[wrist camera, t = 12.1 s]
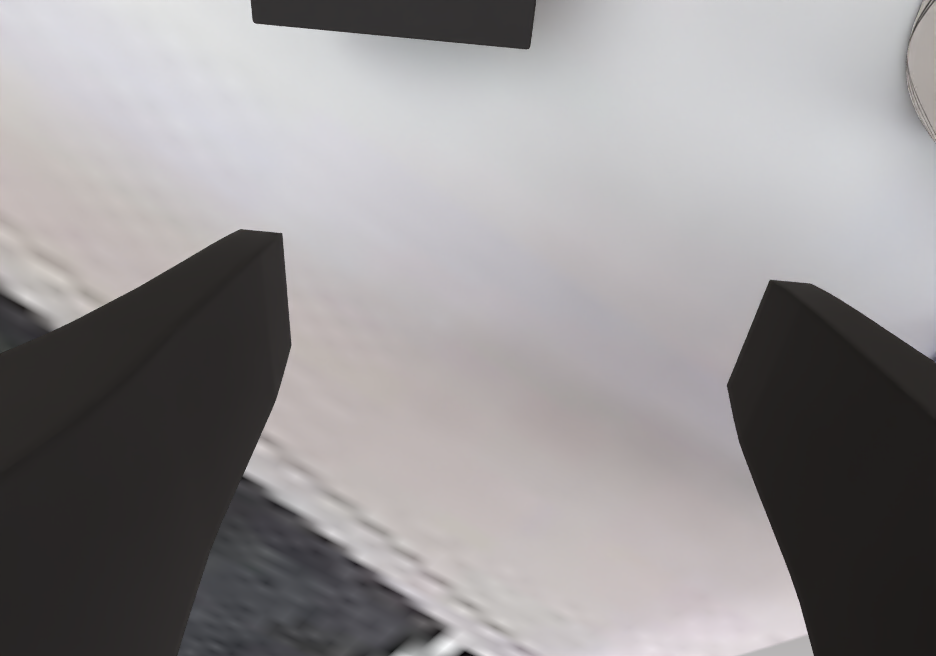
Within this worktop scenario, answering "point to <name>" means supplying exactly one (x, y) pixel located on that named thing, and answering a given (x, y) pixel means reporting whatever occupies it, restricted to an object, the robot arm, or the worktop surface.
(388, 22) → the pad
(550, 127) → the worktop surface
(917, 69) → the mug
